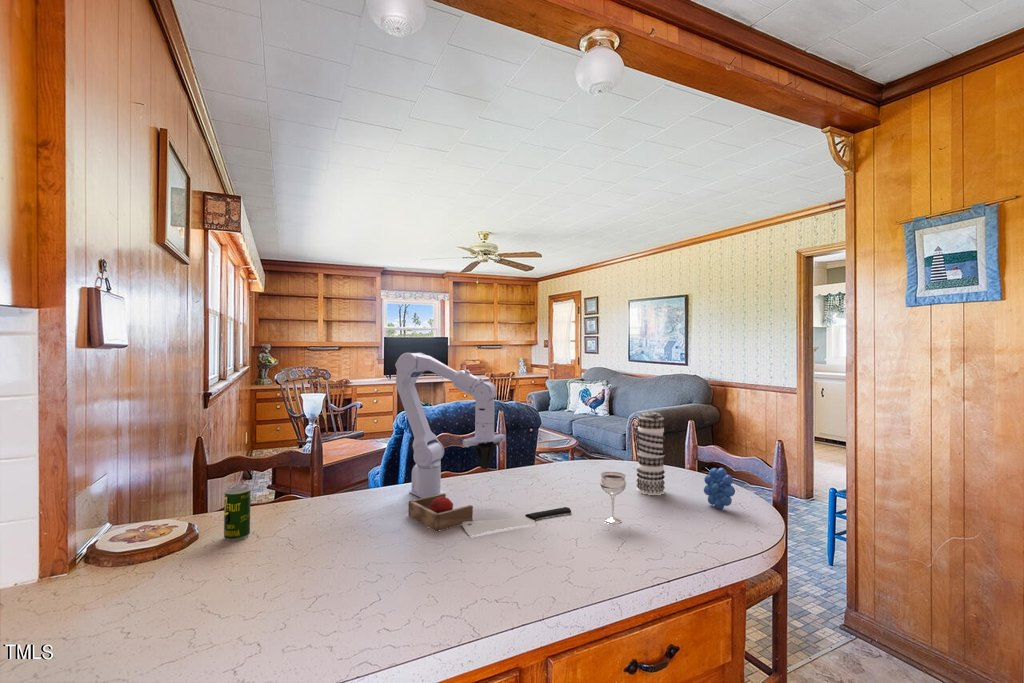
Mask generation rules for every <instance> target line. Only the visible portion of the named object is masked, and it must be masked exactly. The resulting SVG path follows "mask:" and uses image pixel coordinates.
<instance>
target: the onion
mask: <svg viewBox="0 0 1024 683" xmlns="http://www.w3.org/2000/svg"><path fill="white" fill-rule="evenodd" d="M429 509H430V510H432V511H434V512H436V513H442V512H445V511H449V510H453V509H454V503H453V502H452V500H450V499H449V498H448V497H446V496H445V497H443V496H441V497H438V498H436V499H434V500H433V501H432V503H431V505H430V506H429Z"/></svg>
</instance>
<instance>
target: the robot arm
mask: <svg viewBox="0 0 1024 683" xmlns="http://www.w3.org/2000/svg"><path fill="white" fill-rule="evenodd" d="M394 366H395V368H396V375H395V387H396V389H397V392H398V395H399V397H400V401H401V403H402V406H403V409H404V412H405V415H406V417H407V420H408V423H409V426H410V429H411V432H412V435H413V438H414V439H413V441H412V445H411V446H412V449H413V455H412V456H413V461H414V463H415V465H413V467H412V470H411V489H410V490H408V493H410V494H413V495H414V496H416V497H418V498H419V499H420V498H425V497H429V496H433V495H438V494H442V493H444V494H445V495H447V492H446V491H443V490H441V489H442V488H441V487H442V486H441V481H442V480H441V476H442V475H441V474H442V473H441V472H442V471H441V470H442V469H441V468H442V464H441V463H442V462H441V459H442V458H443V457H444V455H445V448H444V445H443V444H442V443H441V442H440V441H439V439H438V437H437V435H436V434H435V433H434V432H432V430H431V428H430V425H429V422H428V419H427V416H426V412H425V410H424V408H423V405H422V403H421V402H422V401H421V399H420V397H419V393H418V390H417V388H416V382H417V381H418V380H419V378H420V376H421V375H423V373H424V372H425V371H427V372H428V371H430V372H432V373H434V374H437V375H438V376H440V377H443V378H445V379H446V380H449V381H451V383H452V385H453V387H454V388H456V389H458V390H460V391H461V392H464V394H467V395H470V396H471V397H473V399H474V400H475V409H474V410H475V417H474V418H475V420H474V421H475V425H474V427H475V428H474V429H475V430H474V436H473V437H469V438H465V439H463V440H462V447H465V448H470V447H473V449H474V451H475V452H476V455H477V460H478V461H479V466H480V469H483V470H487V469H489V466H490V462H491V459H492V456H493V454H494V451H495V450H496V449H497V444H496V443H498V442H506V434H503V433H499V434H495V412H496V411H495V410H496V408H495V397H496V396H497V394H498V388H497V386H496V385H495V384H494V383H493V382H491V381H490V380H487V381H485V378H483V377H478V376H475V375H473V374H472V373H471V371H470V370H468V369H466V370H463V369H461V370H459V371H457V370H455V369H453V368H452V367H450V366H449V365H446V364H445V363H443V362H441V361H440V360H438V359H436V358H434V357H433V356H431V355H428V354H427V355H426V354H425V353H423V352H404V353H402V354H401V355H400V356H399V357H398V359H397V360H396V362H395V364H394Z"/></svg>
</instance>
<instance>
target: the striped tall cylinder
mask: <svg viewBox="0 0 1024 683" xmlns="http://www.w3.org/2000/svg"><path fill="white" fill-rule="evenodd" d="M637 418H638V426H637V429H635V432H636V434H635V436H636V438H637V439H636V441H635V442H636V444H637V445H636V446H635V447H636V449H637V451H636V454H637V456H638V460H637V461H638V463H637V468H636V471H637V473H636V476H637V479H636V482H637V483H636V487H637V488H636V491H637V492H638V491H639V492H640V493H639V492H638V493H639V494H641V493H644V494H649V495H648V496H650V495H658V496H661V495H660V494H663V495H664V494H665V489H666V487H665V484H666V482H665V480H664V479H665V478H666V476H665V475H664V474H665V472H666V471H665V470H664V469H665V468H664V466H665V465H664V457H665V455H666V453H665V450H666V447H664V445H665V444H666V443H667V442H666V441H665V440H666V439H667V438H666V437H667V436H665V435H664V433H665V427H664V419H665V418H664V417H663V416H662V414H661V413H659V412H655V411H653V412H652V411H644V412H641V413H640V415H639V416H638V417H637ZM644 494H643V495H644Z"/></svg>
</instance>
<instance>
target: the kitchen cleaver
mask: <svg viewBox="0 0 1024 683" xmlns="http://www.w3.org/2000/svg"><path fill="white" fill-rule="evenodd" d="M564 514H570V515H572V509H571V508H569V507H567V506H564V507H558V508H552V509H547V510H542V511H541V510H540V511H536V512H532V513H527V514H525V515H521V516H516V517H515V516H514V517H509V518H508V517H507V518H501V519H492V520H491V519H490V520H474V521H473V520H472V521H466V522H463V523H462V525H461V526H462V527H463V530H464V531H465V533H466V534H467V535H468V536H469V537H470V536H472V535H477V534H481V533H484V532H487V531H494V530H496V529H504V528H508V527H515V526H521V525H528V524H529V525H530V524H531V525H532V524H535V523H536V520H537V521H539V520H538V519H540V520H543V519H542V518H545V519H547V518H546V517H550V518H553V517H552V516H556V517H559V516H558V515H561V516H565V515H564Z"/></svg>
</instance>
